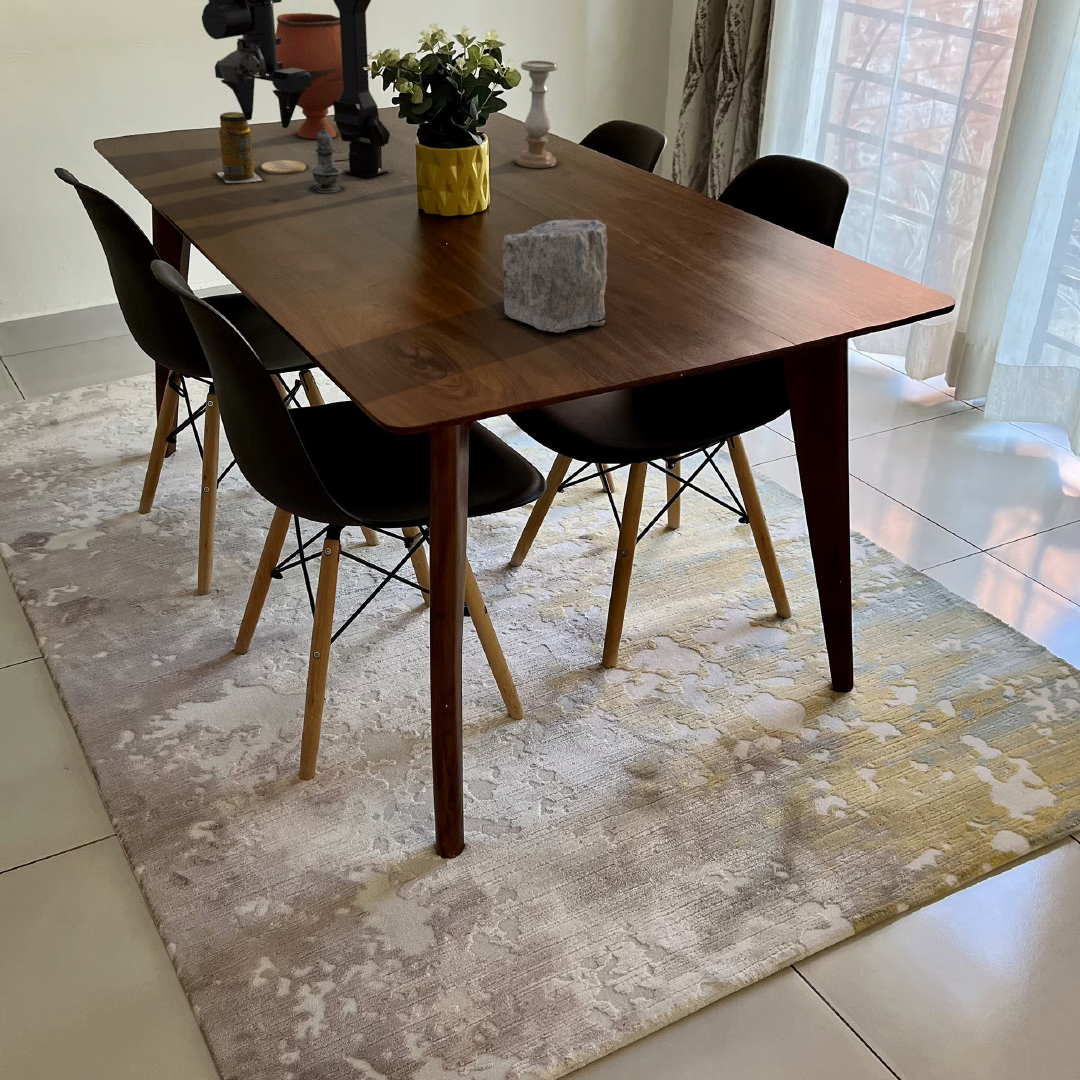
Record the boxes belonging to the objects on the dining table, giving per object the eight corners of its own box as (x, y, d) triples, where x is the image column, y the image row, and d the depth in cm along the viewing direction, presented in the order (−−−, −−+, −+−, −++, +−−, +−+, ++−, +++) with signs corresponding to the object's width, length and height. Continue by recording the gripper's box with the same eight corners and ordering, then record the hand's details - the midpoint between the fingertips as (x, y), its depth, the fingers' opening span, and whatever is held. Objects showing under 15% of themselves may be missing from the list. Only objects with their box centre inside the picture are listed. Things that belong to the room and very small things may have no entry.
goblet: (353, 146, 263) (348, 25, 250) (266, 143, 263) (256, 21, 250) (365, 127, 279) (361, 12, 266) (283, 124, 279) (275, 8, 266)
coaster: (283, 160, 251) (282, 157, 251) (314, 167, 247) (314, 165, 246) (252, 168, 244) (251, 166, 244) (284, 176, 240) (284, 173, 240)
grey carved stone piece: (313, 184, 235) (309, 122, 229) (343, 185, 236) (340, 122, 230) (311, 193, 230) (306, 129, 224) (341, 193, 231) (338, 129, 225)
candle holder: (531, 156, 261) (534, 58, 250) (564, 163, 257) (568, 63, 246) (507, 163, 255) (509, 63, 244) (540, 171, 251) (544, 69, 240)
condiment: (252, 170, 243) (246, 109, 237) (262, 181, 236) (257, 118, 230) (216, 173, 240) (209, 112, 234) (226, 184, 234) (219, 121, 227)
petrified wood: (539, 283, 191) (543, 189, 183) (636, 305, 184) (644, 209, 176) (476, 318, 177) (476, 218, 169) (577, 343, 170) (583, 240, 162)
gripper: (186, 31, 207) (197, 123, 216) (264, 44, 199) (272, 140, 207) (233, 24, 215) (242, 113, 224) (310, 36, 207) (316, 128, 215)
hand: (266, 123), depth 217 cm, fingers open, 9 cm apart
